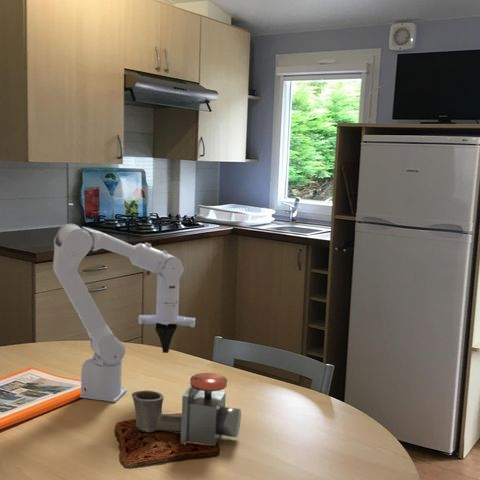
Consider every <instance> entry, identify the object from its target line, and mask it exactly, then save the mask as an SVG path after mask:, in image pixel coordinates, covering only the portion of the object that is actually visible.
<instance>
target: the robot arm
mask: <svg viewBox="0 0 480 480" xmlns="http://www.w3.org/2000/svg"><path fill="white" fill-rule="evenodd" d="M53 245H54V246H53V247H54V249H53V251H54V252H53V261H52V263H53V264H52V268H53V269H52V270H53V271H54V274H55V276H56V278H57V279H58V281H59V283H60V285H61V287H62V289H63V290H64V292H65V293H66V295H67V297H68V299H69V301H70V302H71V303H70V304H72V306H73V308H74V310H75V312H77V315H78V317H79V319H80V320H81V322H82V324H83V326H84V327H85V330H86V333H87V334H88V336H89V339H90V340H89V343H90V348H91V350H92V351H93V352H94V353H93V356H92V357H90V358H89V357H88V358H86V359H85V360H84V362H83V363H82V367H81V373H80V375H81V376H80V378H81V379H80V381H81V382H80V385H81V386H80V394H79V398H83V399H88V400H89V399H90V400H97V401H103V402H104V401H105V402H111V403H116V402H117V401H118V400H119V399H120V398H121V397H122V396H123V395H124V394H125V393H126V392H127V391H128V389H127V388H126V387H122V375H123V374H122V372H123V371H122V370H123V369H122V368H123V359H124V357H125V354H126V348H125V345H124V343H123V342H122V341H120V340H119V339H118V338H117V337H116V336H115V335H114V333H113V332H112V330H111V328H110V327H109V326H108V325H107V323H106V321H105V319H104V318H103V315H102V314H101V312H100V310H99V308H98V306H97V305H96V303H95V301H94V299H93V297H92V295H91V293H90V291H89V290H88V288H87V286H86V284H85V283H84V281H83V279H82V277H81V276H80V274H79V272H78V269H79V266H80V264H81V262H82V260H83V259H85V257H86V256H87V254H88V253H89V252H90V251H93V252H96V251H98V250H101V249H104V250H107V251H109V252H112V253H115V254H118V255H122V256H124V257H127V258H129V261H130V263H131V264H132V266H135V267H138V268H141V269H143V270H146V271H148V272H151V273H154V274H156V280H157V281H156V304H155V314H140V315H138V319H137V320H138V321H137V322H138V325H143V324H144V325H145V324H146V325H155V329H154V330H155V332H156V333H157V336H158V338H159V341H160V344H161V350H162V353H163V354H169V352H170V346H171V342H172V340H173V336H174V334H175V332H176V330H177V329H178V326H181V327H184V326H185V327H190V328H195V325H196V317H189V316H182V315H179V307H180V306H179V305H180V303H179V299H180V278H181V276H183V273H184V271H185V267H183V262H182V261H181V260H180V258H178V257H176V256H174V255H173V254H169V253H168V251H167V250H164V249H163V250H159V249H156V248H155V247H152V244H151V243H148V242H145V243H141V242H140V243H137V244H135V245H132V244H130V243H128V242H126V241H124V240H122V239H118V238H116V237H114V236H111V235H110V234H107V233H105V232H102V231H101V230H100V231H99V230H96V229H93V228H90V227H85V226H81V227H80V226H79V225H77V224H75V223H67V224H64V225H62V226H61V227H60V228H59V229H58V231H57V233H56V235H55V237H54V239H53ZM86 388H87V390H86Z"/></svg>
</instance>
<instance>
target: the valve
mask: <svg viewBox="0 0 480 480" xmlns="http://www.w3.org/2000/svg"><path fill="white" fill-rule="evenodd" d="M227 386H228V378H226V376H224V375H222V374H219V373H214V372H201V373H200V372H199V373H196V374H193V375H192V376H190V379H189V386H188V388H187V389H186V390H185V392H184V393H183V395H182V398H181V399H182V401H181V415H182V422H181V432H180V443H181V442H183V443H186V442H187V441H190V442H197V443H205V444H211V445H215V443H216V442H217V443H218V441H219V439H220V437H221V436H223V437H224V436H225V437H231V438H238V436H239V433H240V427H241V419H242V410H241V408H237V407H230V406H228V407H227V406H226V395H227V394H226V393H227V392H226V390H224V389H225V388H226V387H227Z"/></svg>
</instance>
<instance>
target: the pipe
mask: <svg viewBox="0 0 480 480" xmlns="http://www.w3.org/2000/svg"><path fill="white" fill-rule="evenodd" d="M131 398H132V402H133V405H134V411H135V412H134V413H135V426H136V429H137V430H138V431H141V430H142V431H141V432H144V431H145V433H153V432H156V430H157V431H159V430H160V431H161V432H168V431H170V432H171V433H181V422H182V414H168V413H163V411H162V410H163V402H164V398H165V397H164V395H163V394H162V393H161V392H158V391H154V390H138V391H135V392H131ZM170 432H169V433H170Z"/></svg>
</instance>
